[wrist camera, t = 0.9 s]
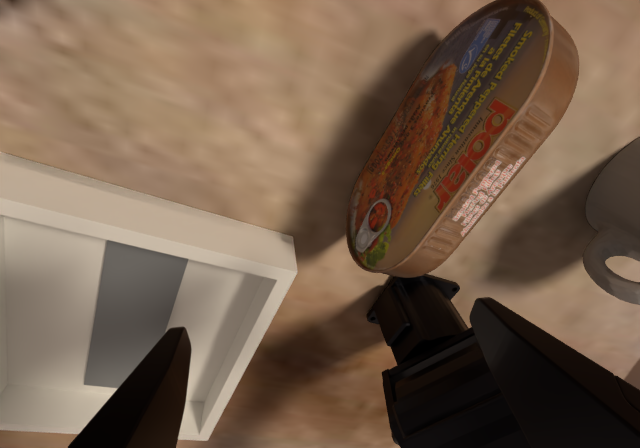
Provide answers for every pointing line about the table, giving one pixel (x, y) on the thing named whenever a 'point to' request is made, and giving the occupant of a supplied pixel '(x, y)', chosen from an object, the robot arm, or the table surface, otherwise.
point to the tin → (461, 136)
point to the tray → (123, 295)
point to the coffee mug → (615, 222)
